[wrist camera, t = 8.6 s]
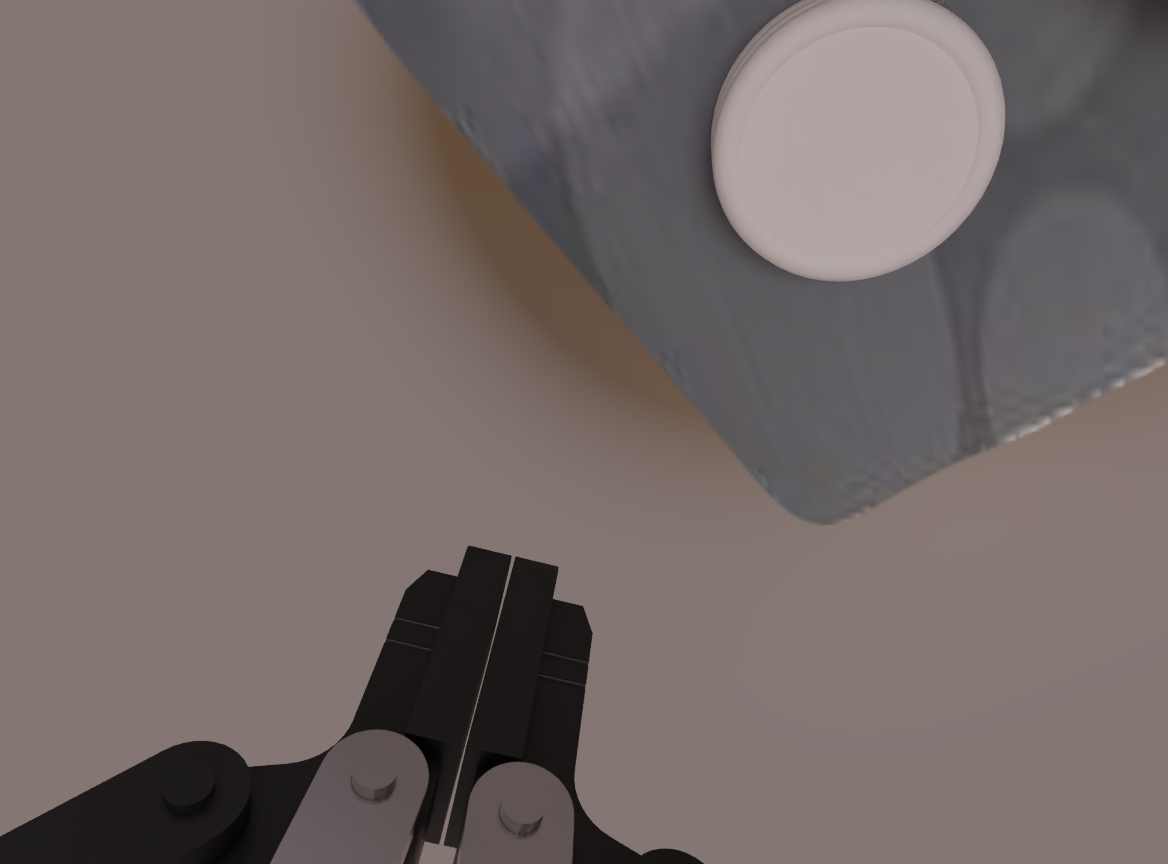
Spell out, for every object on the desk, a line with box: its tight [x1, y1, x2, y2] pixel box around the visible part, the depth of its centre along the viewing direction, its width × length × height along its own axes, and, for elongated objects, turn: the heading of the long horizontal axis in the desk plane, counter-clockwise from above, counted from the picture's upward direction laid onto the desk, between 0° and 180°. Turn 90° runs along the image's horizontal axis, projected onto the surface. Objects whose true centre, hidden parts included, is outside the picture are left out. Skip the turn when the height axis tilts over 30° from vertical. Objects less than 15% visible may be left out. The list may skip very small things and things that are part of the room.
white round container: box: [711, 0, 1005, 282], centre depth 31 cm, size 10×10×4 cm
